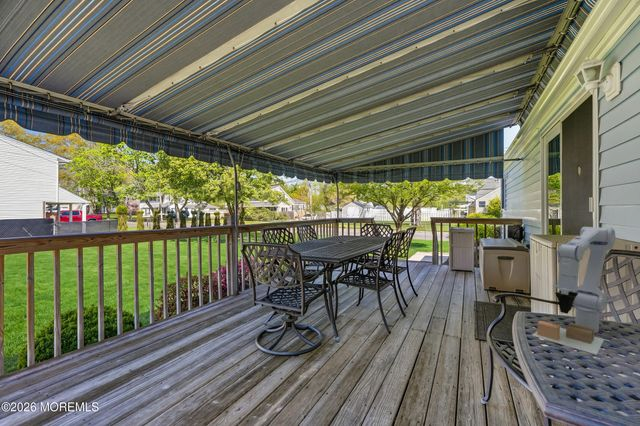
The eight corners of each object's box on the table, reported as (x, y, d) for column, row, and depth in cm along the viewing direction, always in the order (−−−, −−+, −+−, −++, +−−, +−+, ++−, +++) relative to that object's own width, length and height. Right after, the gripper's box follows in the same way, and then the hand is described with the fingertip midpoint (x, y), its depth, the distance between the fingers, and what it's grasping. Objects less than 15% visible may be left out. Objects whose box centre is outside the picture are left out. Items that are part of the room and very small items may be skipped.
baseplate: (545, 325, 123) (545, 323, 123) (604, 341, 109) (604, 339, 109) (531, 337, 110) (531, 335, 110) (596, 356, 96) (596, 354, 96)
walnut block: (569, 332, 114) (570, 322, 114) (593, 339, 109) (594, 328, 109) (565, 337, 110) (566, 326, 110) (590, 344, 104) (591, 333, 104)
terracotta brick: (540, 331, 114) (540, 320, 114) (559, 337, 109) (560, 325, 109) (537, 334, 111) (537, 322, 111) (556, 340, 107) (557, 328, 107)
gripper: (557, 272, 118) (555, 305, 117) (551, 274, 108) (548, 310, 107) (580, 276, 113) (578, 311, 112) (576, 278, 103) (573, 316, 102)
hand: (565, 311), depth 109 cm, fingers open, 7 cm apart
